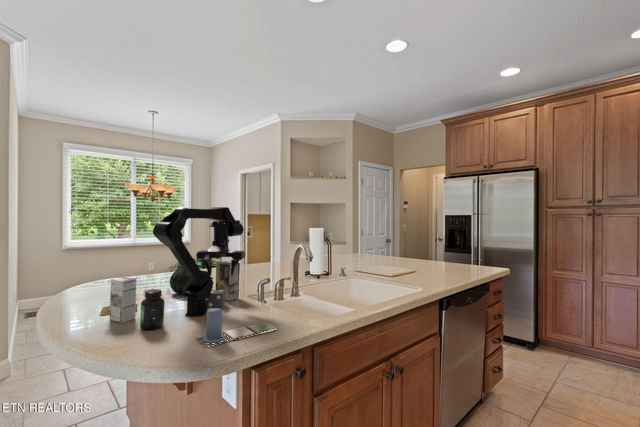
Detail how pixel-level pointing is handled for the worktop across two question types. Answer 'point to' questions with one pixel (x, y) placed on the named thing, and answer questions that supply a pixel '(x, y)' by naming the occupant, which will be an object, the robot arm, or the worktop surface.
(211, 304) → the die
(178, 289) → the squash
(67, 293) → the worktop surface
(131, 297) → the syrup box
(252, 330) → the game board
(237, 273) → the coffee box
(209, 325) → the blue flanged cylinder
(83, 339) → the worktop surface
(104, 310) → the cookie
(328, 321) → the worktop surface
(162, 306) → the supplement bottle
